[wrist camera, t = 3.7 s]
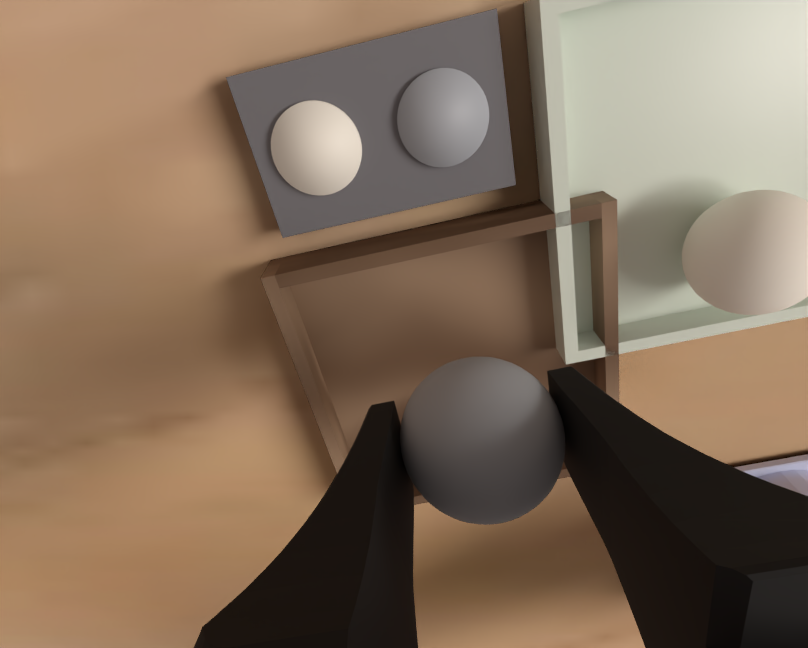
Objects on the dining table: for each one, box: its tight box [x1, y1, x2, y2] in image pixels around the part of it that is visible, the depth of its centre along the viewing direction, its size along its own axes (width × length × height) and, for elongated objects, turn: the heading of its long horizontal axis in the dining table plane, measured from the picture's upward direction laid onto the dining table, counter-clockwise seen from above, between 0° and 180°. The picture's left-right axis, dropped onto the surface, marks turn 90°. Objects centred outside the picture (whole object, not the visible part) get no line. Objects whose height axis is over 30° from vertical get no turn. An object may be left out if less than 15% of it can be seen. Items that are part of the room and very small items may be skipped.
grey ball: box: [400, 357, 565, 525], centre depth 12 cm, size 4×4×4 cm
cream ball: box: [682, 190, 808, 315], centre depth 16 cm, size 4×4×4 cm
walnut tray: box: [260, 191, 619, 505], centre depth 20 cm, size 12×12×2 cm
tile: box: [226, 9, 516, 238], centre depth 16 cm, size 5×8×1 cm, turn 102°
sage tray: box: [524, 0, 808, 364], centre depth 16 cm, size 12×12×2 cm
